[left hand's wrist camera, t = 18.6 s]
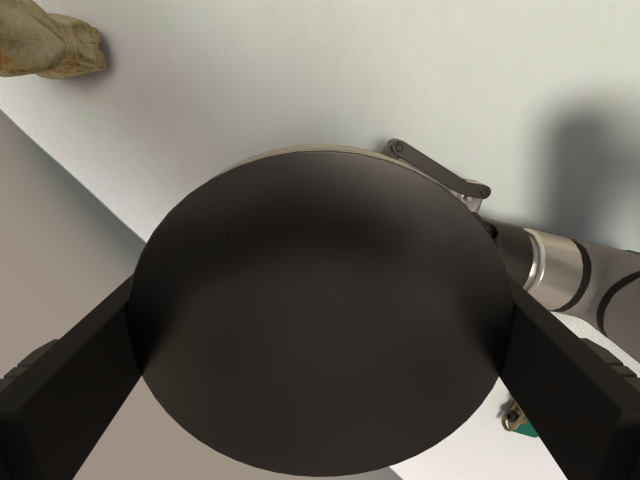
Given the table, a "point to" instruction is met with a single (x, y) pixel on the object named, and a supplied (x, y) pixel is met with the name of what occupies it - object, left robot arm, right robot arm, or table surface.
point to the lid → (320, 312)
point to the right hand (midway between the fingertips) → (290, 214)
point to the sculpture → (46, 43)
